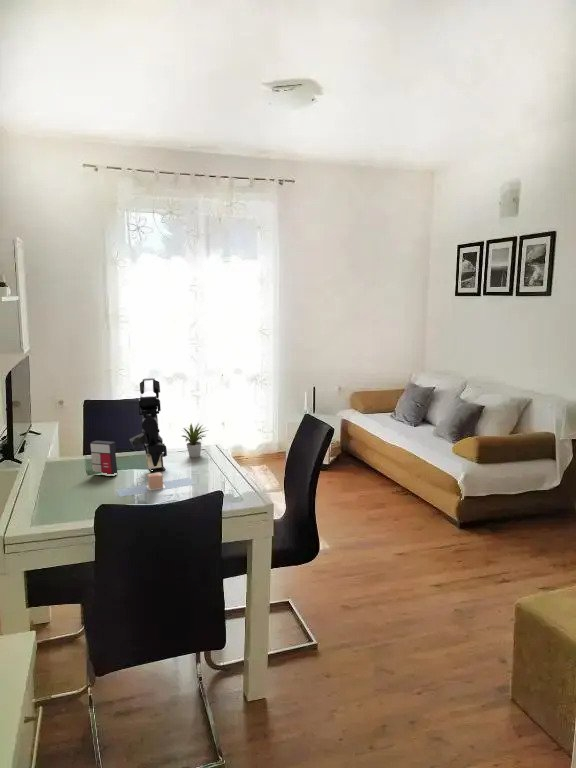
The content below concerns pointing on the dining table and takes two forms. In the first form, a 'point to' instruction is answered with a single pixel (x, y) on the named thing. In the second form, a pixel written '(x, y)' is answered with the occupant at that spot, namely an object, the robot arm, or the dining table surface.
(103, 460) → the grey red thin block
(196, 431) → the house plant
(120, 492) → the baseplate
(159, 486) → the terracotta block
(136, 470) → the dining table surface
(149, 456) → the beech block
